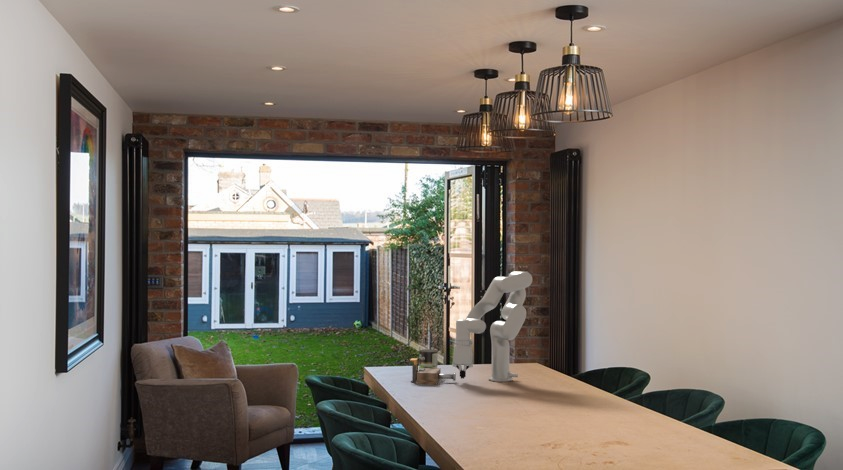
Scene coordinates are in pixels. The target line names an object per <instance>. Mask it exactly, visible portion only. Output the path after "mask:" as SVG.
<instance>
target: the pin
mask: <svg viewBox="0 0 843 470" xmlns="http://www.w3.org/2000/svg"><path fill="white" fill-rule="evenodd" d="M456 375H457V374H456V372H453V374H452V373H451V374H450V373H440V374H438V379H440V380H452V381H456V379H457V376H456Z"/></svg>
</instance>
